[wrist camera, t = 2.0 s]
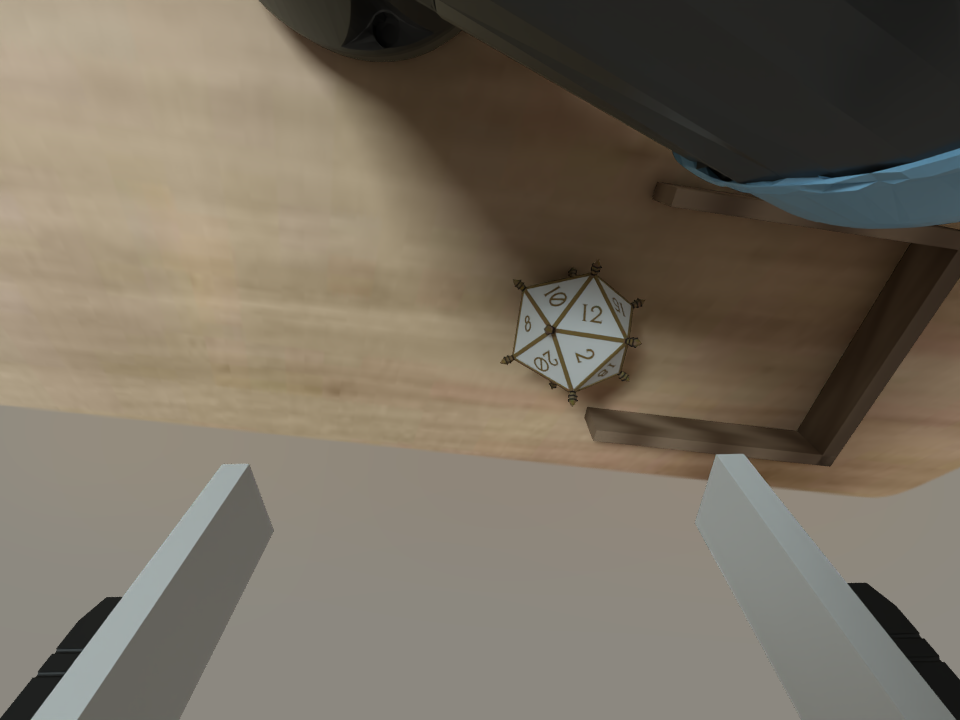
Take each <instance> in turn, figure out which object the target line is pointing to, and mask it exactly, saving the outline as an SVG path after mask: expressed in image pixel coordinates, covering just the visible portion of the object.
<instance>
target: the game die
mask: <svg viewBox="0 0 960 720" xmlns="http://www.w3.org/2000/svg"><path fill="white" fill-rule="evenodd" d="M600 268H602V267H601V265H600V262H599V260H597V261H596V262H595V263H593V264H592V267H591V273H587V274H583V275H578V276H576V273H577V270H575V269H574V268H572V269H571V270H570V271H569V272H568V273H569V276H570V277H569V278H565V279H560V280H555V281H551V282H546V283H542V284H537V285H533V286H528V287H526V286H525V285H524V282H522V281H521V280H514V279H513V281H514V284H515V287H517V288H518V289H520V290H522V297H521V303H520V310H519V316H518V322H517V329H516V335H515V341H514V348H513V354H512V355H511V356H508V355H507V357H504V358H503V360H502V361H501V362H500V363H502V364H507V365H508V364H509V363H511V362H512V361H513V360H515V361H517V362H519V363H520V364H522V365H524V366H526V367H527V368H529V369H531V370H532V371H534V372H536V373H537V374H539V375H541V376H543V377H544V378H546V379H548V380H549V381H550V383H549V385H550V386H551V389H553V388H556V387H557V385H558V386H560V387H561V388H563V389H565V390H566V391H568V392H570V394H569V395H568V398H569V399H568V402H570V404H571V406H572V407H573V405H574V404H575V403H576V401H578V400H577V396H576V394H575V393H576V392H577V391H580V390H582V389H584V388H587V387H589V386H591V385H594V384H596V383H598V382H601V381H603V380H605V379H608V378H610V377H613V376H615V375H618V376H619V379H621V380H622V381H629V377H628V376H629V375H627V374H626V373H625V372H622V371H621V370H622V366H623V363H624V359H625V355H626V351H627V348H628V345H629V346H631V347H634V348H636V347H637V346H639V345H641V344H642V343H641V342H640V341H639V340H638V338H634V337H632V338H630V331H631V323H632V314H633V308H635V307H636V308H639V306H642V304H643V303H644V301H645V300H641V299H638V298H637V300H634V302H633V303H630V302H629V301H627V300H626V299H625V298H624V297H623V296H621V295H620V294H619V293H618V292H617V291H615V290H614V289H613V288H612V287H611V286H609V285H608V284H607V283H606V282H605V281H603V280H602V279H601V278H600V277H599V276H597V273H598V272H600Z"/></svg>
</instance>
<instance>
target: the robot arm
mask: <svg viewBox="0 0 960 720" xmlns="http://www.w3.org/2000/svg"><path fill="white" fill-rule="evenodd" d="M259 1H260V2H261V3H262V4H263V5H264V6H265V7H266V8H267V9H268V10H269V11H270V12H271V13H272V14H274V15H275V16H276V17H277V18H278V19H280V20H281V21H282V22H283V23H285V24H286V25H287V26H288V27H290V28H291V29H293V30H294V31H296V32H297V33H299V34H301V35H302V36H304V37H306V38H308V39H309V40H311V41H313V42H315V43H317V44H318V45H320V46H322V47H324V48H326V49H329V50H331V51H333V52H336V53H338V54H341V55H344V56H347V57H350V58H354V59H359V60H365V61H373V62H390V61H399V60H405V59H409V58H413V57H416V56H419V55H422V54H425V53H427V52H429V51H431V50H433V49H435V48H437V47H439V46H441V45H442V44H444V43H445V42H447V41H448V40H450V39H451V38H453V37H454V36H455V35H456V34H457V33H459V32H460V31H461V30H463V31H465V32H466V33H468V34H470V35H472V36H473V37H475V38H477V39H479V40H480V41H482V42H484V43H486V44H487V45H489V46H491V47H493V48H494V49H496V50H498V51H499V52H501V53H503V54H505V55H506V56H508V57H510V58H512V59H513V60H515V61H517V62H519V63H520V64H522V65H524V66H526V67H527V68H529V69H531V70H533V71H534V72H536V73H538V74H539V75H541V76H543V77H545V78H546V79H548V80H550V81H552V82H553V83H555V84H557V85H559V86H560V87H562V88H564V89H566V90H567V91H569V92H571V93H573V94H574V95H576V96H578V97H580V98H581V99H583V100H585V101H586V102H588V103H590V104H592V105H593V106H595V107H597V108H599V109H600V110H602V111H604V112H606V113H607V114H609V115H611V116H613V117H614V118H616V119H618V120H620V121H621V122H623V123H625V124H626V125H628V126H630V127H632V128H633V129H635V130H637V131H639V132H640V133H642V134H644V135H646V136H647V137H649V138H651V139H653V140H654V141H656V142H658V143H660V144H661V145H663V146H665V147H667V148H668V149H670V150H672V152H673V155H674V157H675V159H676V160H677V162H678V163H680V164H681V165H682V166H683V167H685V168H686V169H688V170H689V171H690V172H692V173H693V174H695V175H696V176H698V177H700V178H701V179H703V180H705V181H707V182H709V183H712V184H715V185H718V186H721V187H724V186H727V187H729V188H732V189H735V190H737V191H740V192H745V193H750V194H752V195H754V196H756V197H758V198H760V199H762V200H764V201H766V202H768V203H770V204H772V205H774V206H776V207H778V208H780V209H782V210H784V211H786V212H788V213H790V214H793V215H795V216H798V217H801V218H804V219H807V220H811V221H814V222H821V223H826V224H830V225H836V226H843V227H851V228H863V229H892V228H913V227H924V226H932V225H940V224H948V223H955V222H960V0H259ZM695 524H696V526H697V528H698V530H699V532H700V533H701V535H702V537H703V539H704V541H705V543H706V545H707V546H708V548H709V550H710V552H711V554H712V556H713V557H714V559H715V561H716V563H717V565H718V567H719V569H720V570H721V572H722V574H723V576H724V578H725V580H726V582H727V583H728V585H729V587H730V589H731V591H732V593H733V595H734V596H735V598H736V600H737V602H738V604H739V605H740V607H741V609H742V611H743V613H744V615H745V617H746V619H747V620H748V622H749V624H750V626H751V628H752V630H753V631H754V633H755V635H756V637H757V639H758V641H759V643H760V645H761V646H762V648H763V650H764V652H765V654H766V655H767V658H768V659H769V661H770V663H771V665H772V667H773V668H774V670H775V672H776V674H777V676H778V678H779V680H780V682H781V683H782V685H783V687H784V689H785V691H786V693H787V695H788V696H789V698H790V700H791V702H792V704H793V706H794V708H795V709H796V711H797V713H798V715H799V717H800V719H801V720H960V679H959V678H958V677H957V676H956V675H955V674H954V672H953V671H952V670H951V669H950V668H949V667H948V666H947V664H946V663H945V662H942V661H941V660H940V659H939V655H938V654H937V653H936V652H935V651H934V649H933V648H932V647H931V646H930V645H929V644H928V642H927V641H926V640H925V639H922V638H921V637H920V635H919V632H918V631H917V630H916V628H915V627H914V626H913V625H912V624H911V623H910V622H909V620H908V619H907V618H906V617H905V616H904V615H903V613H902V612H901V611H900V610H899V609H898V608H897V606H895V605H894V604H893V603H892V602H890V601H889V600H888V599H887V598H885V597H884V596H883V595H881V594H880V593H879V592H878V591H876V590H875V589H874V588H872V587H871V586H870V585H869V584H867V583H846V581H845V580H844V579H843V578H842V577H841V575H840V574H839V573H838V571H837V570H836V569H835V568H834V566H833V565H832V564H831V563H830V561H829V560H828V559H827V558H826V556H825V555H824V554H823V553H822V551H821V550H820V549H819V548H818V546H817V545H816V544H815V543H814V541H813V540H812V539H811V538H810V536H809V535H808V534H807V533H806V531H805V530H804V529H803V528H802V526H801V525H800V524H799V523H798V521H797V520H796V519H795V518H794V516H793V515H792V514H791V513H790V511H789V510H788V509H787V508H786V506H785V505H784V504H783V503H782V501H781V500H780V499H779V498H778V496H777V495H776V494H775V493H774V491H773V490H772V489H771V488H770V486H769V485H768V484H767V482H766V481H765V480H764V479H763V477H762V476H761V475H760V474H759V472H758V471H757V470H756V469H755V467H754V466H753V465H752V464H751V462H750V461H749V460H748V459H747V457H746V456H745V455H744V454H716V456H715V459H714V463H713V466H712V469H711V472H710V475H709V479H708V482H707V485H706V488H705V492H704V495H703V498H702V501H701V504H700V508H699V511H698V514H697V517H696V520H695ZM273 532H274V530H273V527H272V524H271V521H270V519H269V516H268V514H267V511H266V508H265V505H264V503H263V500H262V497H261V495H260V492H259V489H258V486H257V484H256V481H255V478H254V476H253V473H252V470H251V467H250V465H249V464H222V465H221V467H220V468H219V469H218V471H217V472H216V473H215V475H214V476H213V477H212V479H211V480H210V481H209V483H208V484H207V485H206V487H205V488H204V489H203V491H202V492H201V493H200V495H199V496H198V497H197V499H196V500H195V501H194V503H193V504H192V505H191V507H190V508H189V509H188V511H187V512H186V513H185V515H184V516H183V517H182V519H181V520H180V521H179V523H178V524H177V525H176V527H175V528H174V529H173V531H172V532H171V533H170V535H169V536H168V537H167V539H166V540H165V541H164V543H163V544H162V546H161V547H160V548H159V549H158V551H157V552H156V553H155V555H154V556H153V558H152V559H151V560H150V561H149V563H148V564H147V565H146V567H145V568H144V569H143V571H142V572H141V573H140V575H139V576H138V577H137V579H136V580H135V582H134V583H133V584H132V585H131V587H130V588H129V589H128V591H127V592H126V594H125V595H124V596H123V597H106V598H105V599H104V600H103V601H101V602H100V603H99V604H98V605H97V606H96V607H94V608H93V609H92V610H91V611H90V612H88V613H87V614H86V615H85V616H84V617H83V618H81V619H80V620H79V621H78V622H77V623H76V625H75V626H74V627H73V628H72V630H71V631H70V632H69V633H68V635H67V636H66V637H65V639H64V640H63V641H62V642H61V643H60V645H59V646H58V647H57V651H56V653H55V654H52V655H51V656H50V657H49V658H48V660H47V661H46V662H45V663H44V665H43V666H42V667H41V668H40V670H39V671H38V675H37V676H36V677H35V678H32V679H31V681H30V682H29V683H28V684H27V686H26V687H25V688H24V690H23V691H22V692H21V693H20V694H19V696H18V697H17V698H16V699H15V701H14V702H13V703H12V704H11V706H10V707H9V708H8V710H7V711H6V712H5V713H4V714H3V716H2V717H1V718H0V720H179V719H180V717H181V715H182V713H183V711H184V709H185V707H186V705H187V703H188V701H189V699H190V697H191V695H192V693H193V691H194V689H195V687H196V685H197V683H198V681H199V679H200V677H201V675H202V673H203V671H204V669H205V667H206V665H207V663H208V661H209V659H210V657H211V655H212V653H213V651H214V649H215V647H216V645H217V643H218V641H219V639H220V637H221V635H222V633H223V631H224V629H225V627H226V625H227V623H228V621H229V619H230V617H231V615H232V613H233V611H234V609H235V607H236V605H237V603H238V601H239V599H240V597H241V595H242V593H243V591H244V589H245V588H246V585H247V584H248V582H249V579H250V577H251V575H252V574H253V572H254V569H255V567H256V566H257V564H258V561H259V560H260V558H261V556H262V554H263V552H264V550H265V548H266V546H267V543H268V542H269V540H270V538H271V535H272V533H273Z"/></svg>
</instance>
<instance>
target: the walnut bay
mask: <svg viewBox="0 0 960 720" xmlns="http://www.w3.org/2000/svg"><path fill="white" fill-rule="evenodd" d="M652 199H654V200H656V201H659V202H661V203H664V204H666V205H669V206H671V207H678V208H684V209H691V210H697V211H704V212H711V213H717V214H724V215H731V216H737V217H744V218H750V219H757V220H764V221H770V222H777V223H784V224H790V225H797V226H803V227H810V228H817V229H823V230H830V231H837V232H843V233H850V234H856V235H863V236H870V237H876V238H883V239H890V240H896V241H903V242H909V243H911V244H910V246H909V247H908V249H907V251H906V252H905V254H904V256H903V257H902V259H901V261H900V262H899V264H898V266H897V267H896V269H895V270H894V272H893V274H892V275H891V277H890V279H889V280H888V282H887V284H886V285H885V287H884V289H883V290H882V292H881V294H880V295H879V297H878V299H877V300H876V302H875V304H874V305H873V307H872V308H871V310H870V312H869V313H868V315H867V317H866V318H865V320H864V322H863V323H862V325H861V327H860V328H859V330H858V332H857V333H856V335H855V337H854V338H853V340H852V341H851V343H850V345H849V346H848V348H847V350H846V351H845V353H844V355H843V356H842V358H841V360H840V361H839V363H838V365H837V366H836V368H835V370H834V371H833V373H832V374H831V376H830V378H829V379H828V381H827V383H826V384H825V386H824V388H823V389H822V391H821V393H820V394H819V396H818V398H817V399H816V401H815V403H814V404H813V406H812V407H811V409H810V411H809V412H808V414H807V416H806V417H805V419H804V421H803V422H802V424H801V426H800V427H799V429H798V431H792V430H783V429H774V428H765V427H757V426H748V425H739V424H730V423H722V422H713V421H704V420H695V419H687V418H678V417H669V416H660V415H652V414H643V413H634V412H625V411H617V410H608V409H599V408H590V407H587V411H586V414H585V417H584V418H585V420H586V423H587V426H588V428H589V431H590V434H591V436H592V439H593V441H600V442H610V443H619V444H628V445H637V446H646V447H656V448H665V449H674V450H683V451H692V452H702V453H711V454H744V455H745V456H746V457H748V458H757V459H766V460H775V461H785V462H794V463H803V464H812V465H821V466H831V465H832V463H833V462H834V460H835V459H836V457H837V456H838V454H839V453H840V452H841V450H842V449H843V447H844V446H845V444H846V443H847V441H848V440H849V438H850V437H851V435H852V434H853V433H854V431H855V430H856V428H857V427H858V425H859V424H860V422H861V421H862V419H863V418H864V416H865V415H866V414H867V412H868V411H869V409H870V408H871V406H872V405H873V403H874V402H875V400H876V399H877V397H878V396H879V395H880V393H881V392H882V390H883V389H884V387H885V386H886V384H887V383H888V381H889V380H890V378H891V377H892V376H893V374H894V373H895V371H896V370H897V368H898V367H899V365H900V364H901V362H902V361H903V359H904V358H905V357H906V355H907V354H908V352H909V351H910V349H911V348H912V346H913V345H914V343H915V342H916V340H917V339H918V337H919V336H920V335H921V333H922V332H923V330H924V329H925V327H926V326H927V324H928V323H929V321H930V320H931V318H932V317H933V316H934V314H935V313H936V311H937V310H938V308H939V307H940V305H941V304H942V302H943V301H944V299H945V298H946V297H947V295H948V294H949V292H950V291H951V289H952V288H953V286H954V285H955V283H956V282H957V280H958V279H959V278H960V230H958V229H953V228H948V227H943V226H938V225H932V226H924V227H913V228H892V229H863V228H851V227H843V226H836V225H830V224H826V223H821V222H814V221H811V220H807V219H804V218H801V217H798V216H795V215H793V214H790V213H788V212H786V211H784V210H782V209H780V208H778V207H776V206H774V205H772V204H770V203H768V202H766V201H764V200H762V199H760V198H757V197H751V196H744V195H738V194H731V193H725V192H718V191H712V190H706V189H699V188H693V187H686V186H680V185H673V184H667V183H660V182H657V185H656V188H655V192H654V195H653V198H652Z"/></svg>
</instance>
